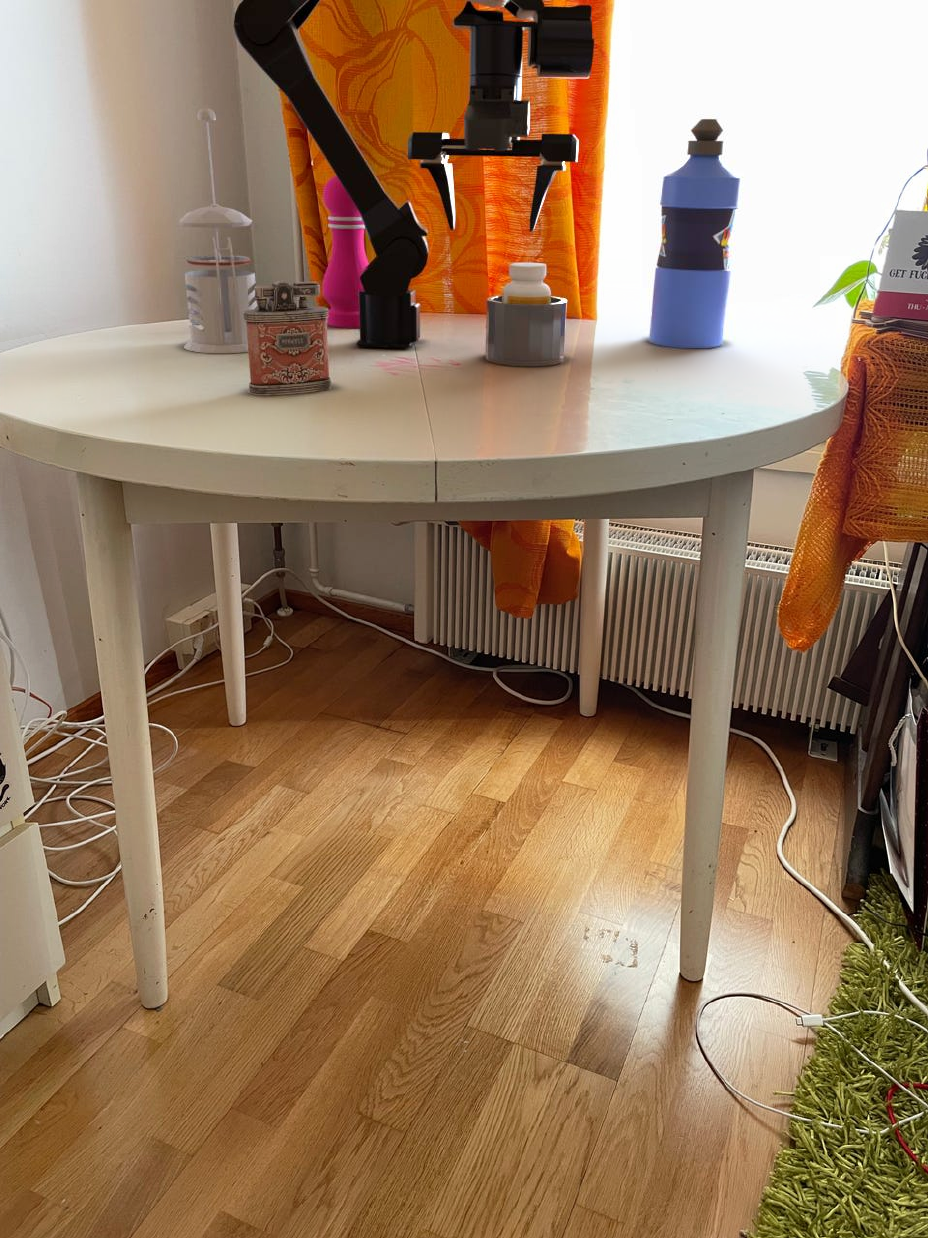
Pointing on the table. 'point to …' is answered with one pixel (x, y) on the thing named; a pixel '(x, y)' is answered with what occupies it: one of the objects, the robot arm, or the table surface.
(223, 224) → the french press
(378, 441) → the table surface
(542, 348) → the grey cylindrical cup
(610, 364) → the table surface
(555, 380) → the table surface
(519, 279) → the supplement bottle
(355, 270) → the pepper mill
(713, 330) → the water bottle
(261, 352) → the lighter
